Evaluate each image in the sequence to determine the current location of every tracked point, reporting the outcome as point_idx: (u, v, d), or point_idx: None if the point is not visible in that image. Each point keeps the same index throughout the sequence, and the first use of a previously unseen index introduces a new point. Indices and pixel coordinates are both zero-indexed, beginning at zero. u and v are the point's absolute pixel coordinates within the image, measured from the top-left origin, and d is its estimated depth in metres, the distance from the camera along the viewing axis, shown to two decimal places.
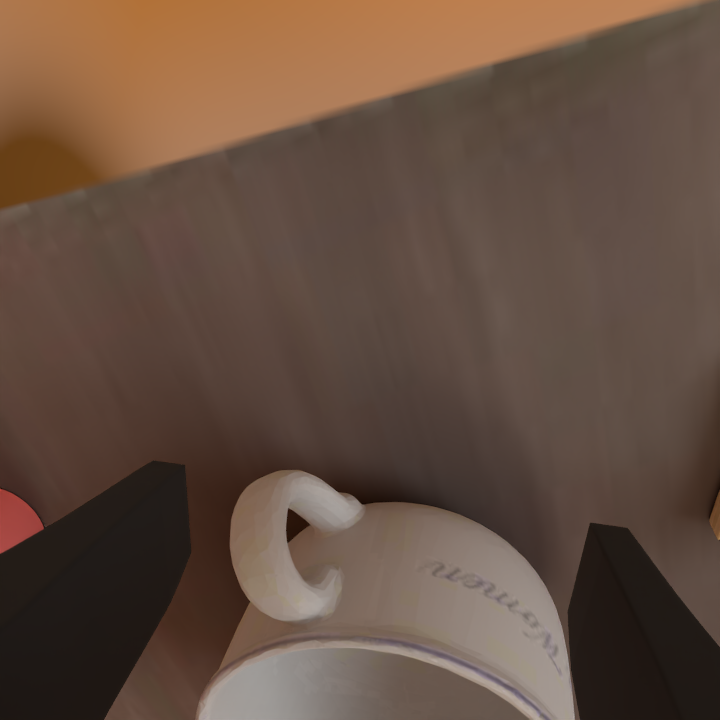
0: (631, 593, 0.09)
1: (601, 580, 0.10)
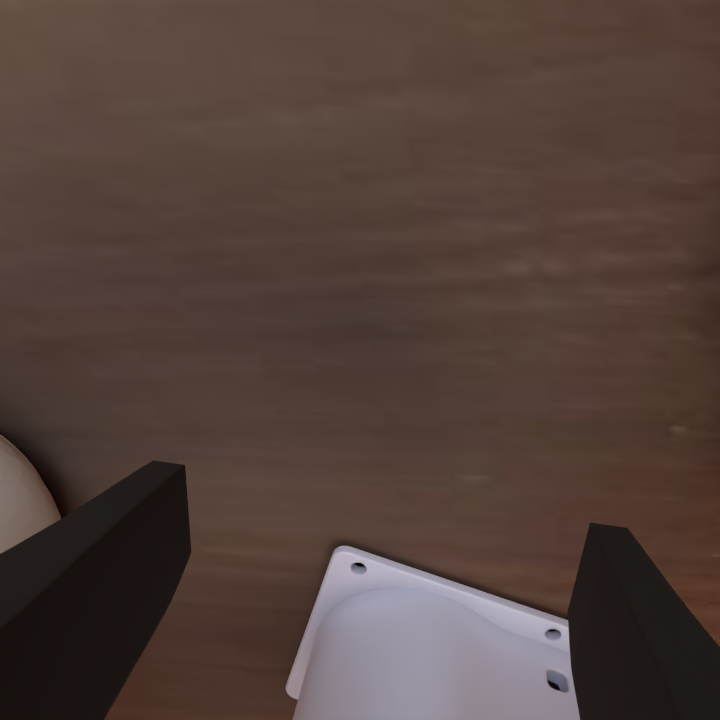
0: (631, 593, 0.09)
1: (602, 580, 0.10)
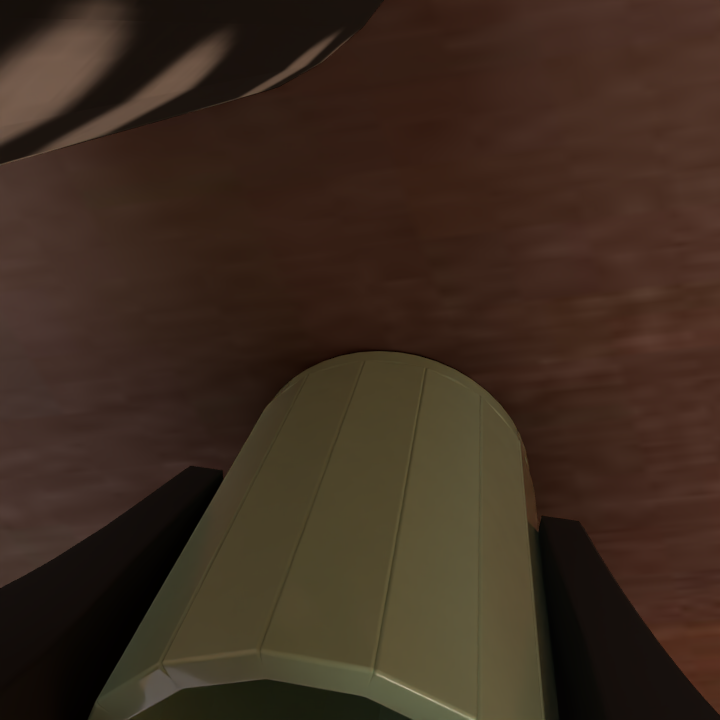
0: (572, 584, 0.09)
1: (548, 572, 0.10)
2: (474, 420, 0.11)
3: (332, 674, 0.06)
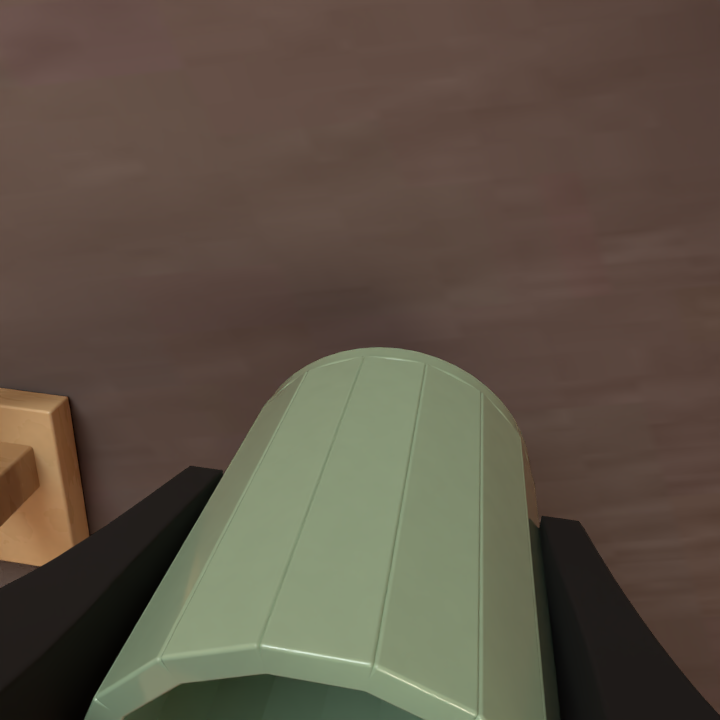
0: (572, 584, 0.09)
1: (548, 572, 0.10)
2: (475, 416, 0.11)
3: (333, 669, 0.06)
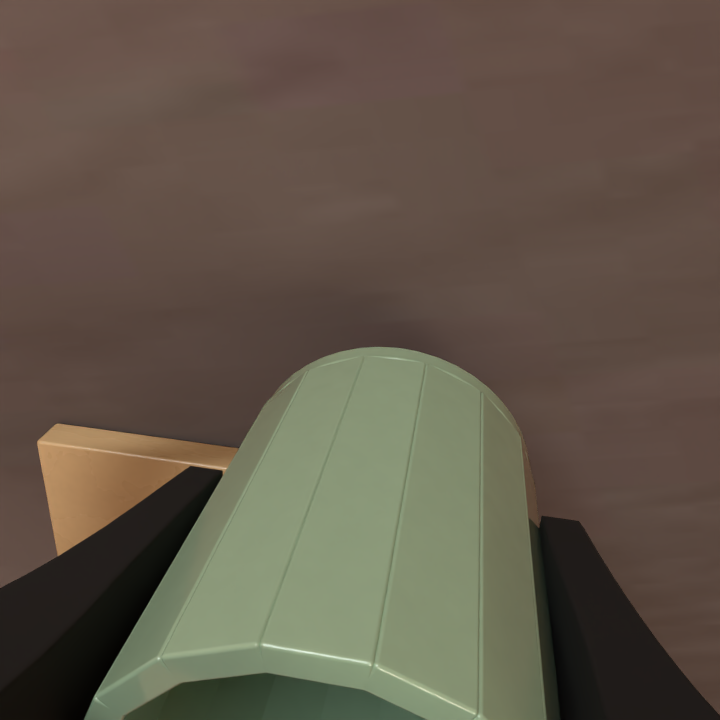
0: (572, 584, 0.09)
1: (548, 572, 0.10)
2: (475, 415, 0.11)
3: (333, 669, 0.06)
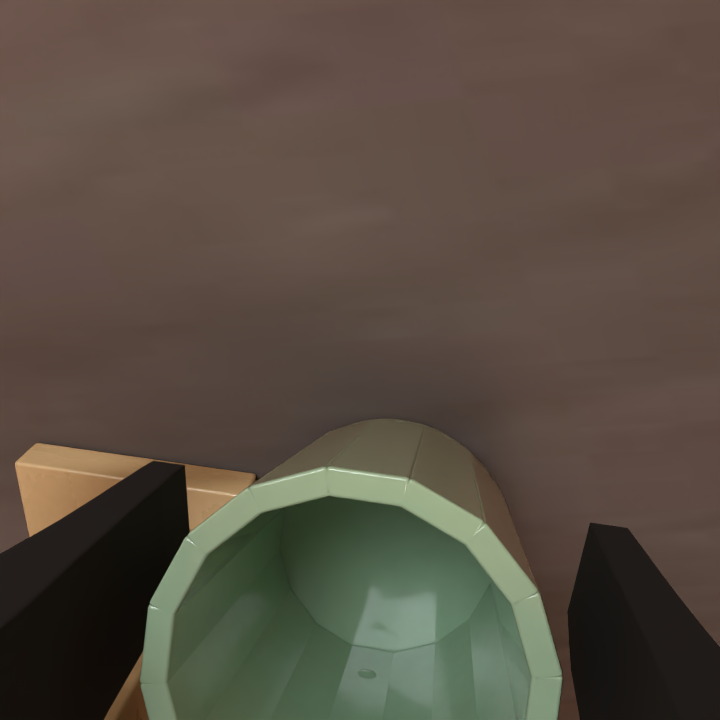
0: (631, 593, 0.09)
1: (602, 579, 0.10)
2: (465, 453, 0.14)
3: (379, 484, 0.09)
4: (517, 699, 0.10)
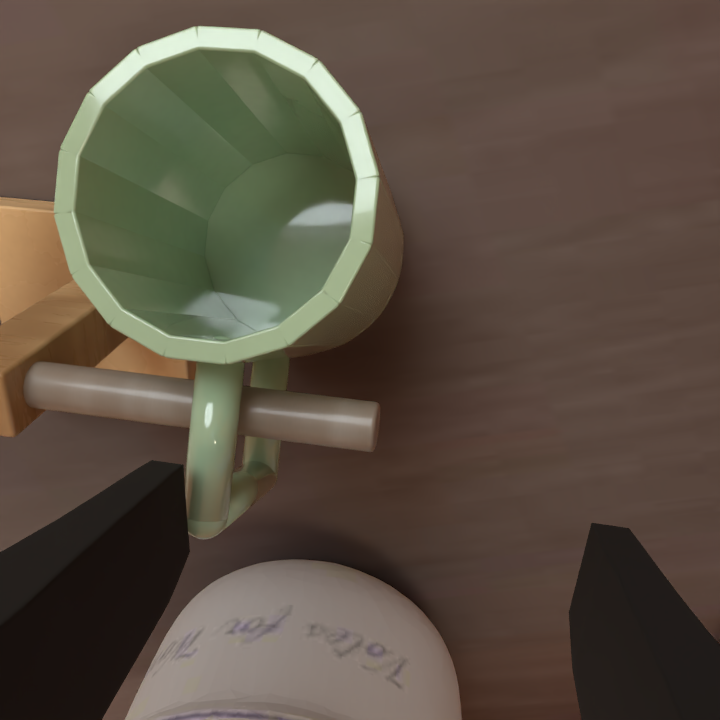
0: (633, 593, 0.09)
1: (602, 580, 0.10)
2: None
3: (237, 34, 0.11)
4: None
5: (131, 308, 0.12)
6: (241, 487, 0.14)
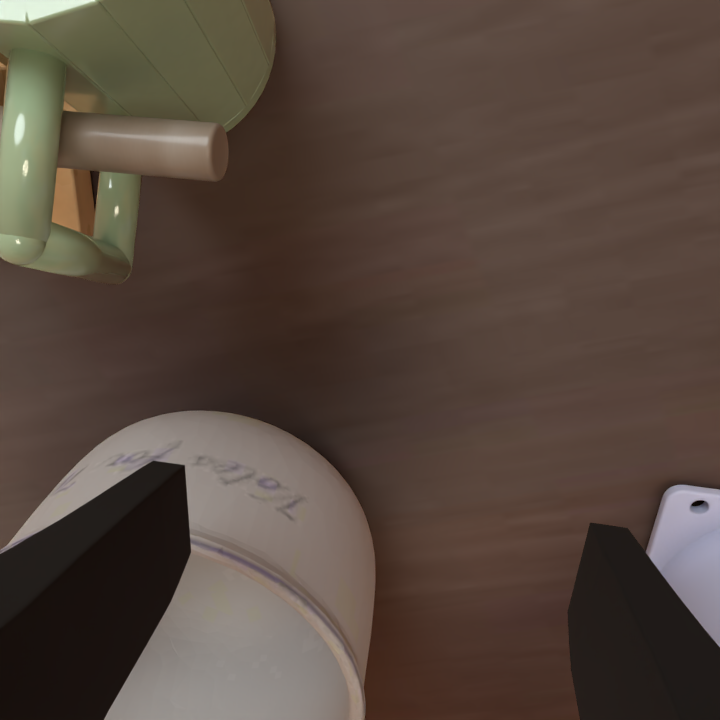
0: (631, 593, 0.09)
1: (601, 580, 0.10)
2: None
3: None
4: None
5: None
6: (73, 233, 0.13)
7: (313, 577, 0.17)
